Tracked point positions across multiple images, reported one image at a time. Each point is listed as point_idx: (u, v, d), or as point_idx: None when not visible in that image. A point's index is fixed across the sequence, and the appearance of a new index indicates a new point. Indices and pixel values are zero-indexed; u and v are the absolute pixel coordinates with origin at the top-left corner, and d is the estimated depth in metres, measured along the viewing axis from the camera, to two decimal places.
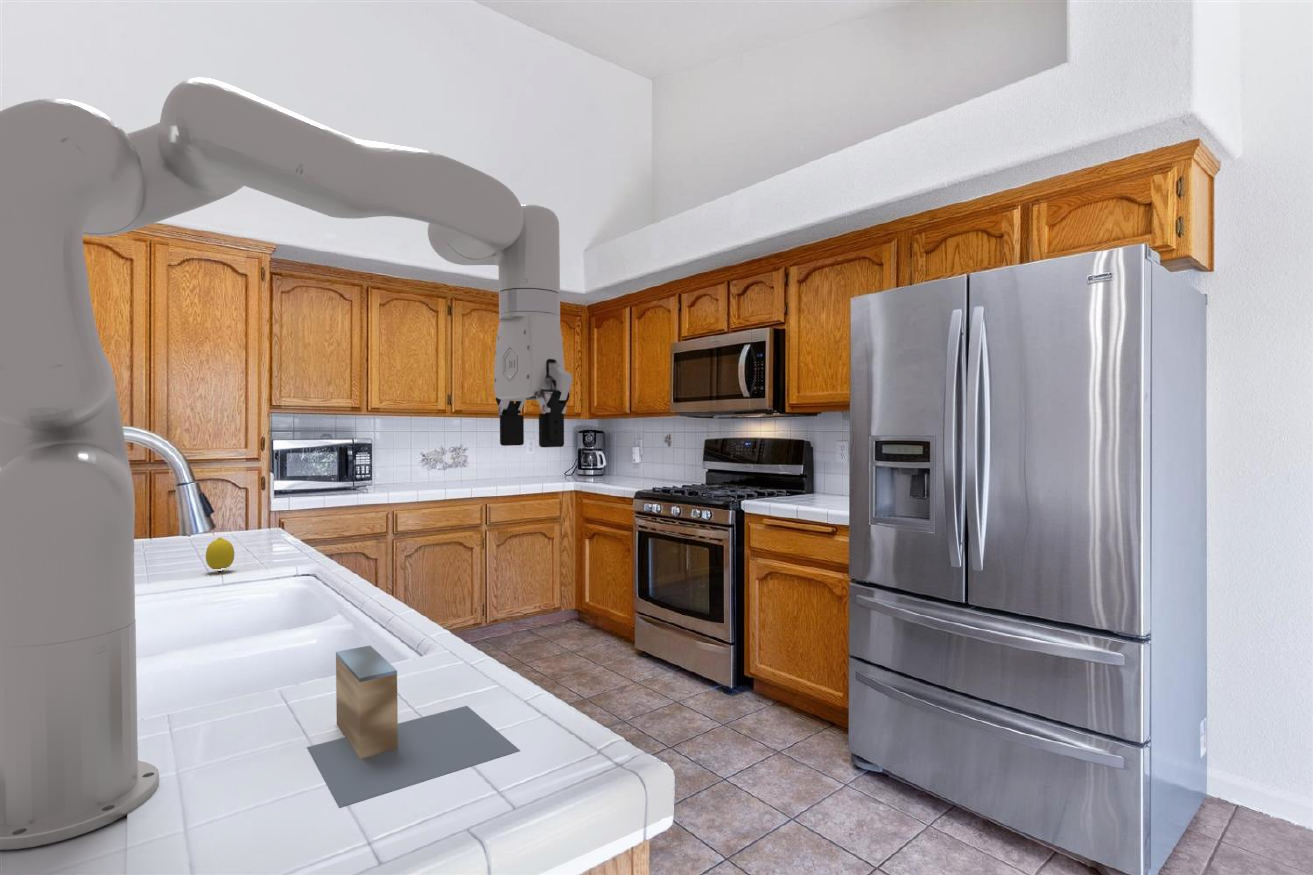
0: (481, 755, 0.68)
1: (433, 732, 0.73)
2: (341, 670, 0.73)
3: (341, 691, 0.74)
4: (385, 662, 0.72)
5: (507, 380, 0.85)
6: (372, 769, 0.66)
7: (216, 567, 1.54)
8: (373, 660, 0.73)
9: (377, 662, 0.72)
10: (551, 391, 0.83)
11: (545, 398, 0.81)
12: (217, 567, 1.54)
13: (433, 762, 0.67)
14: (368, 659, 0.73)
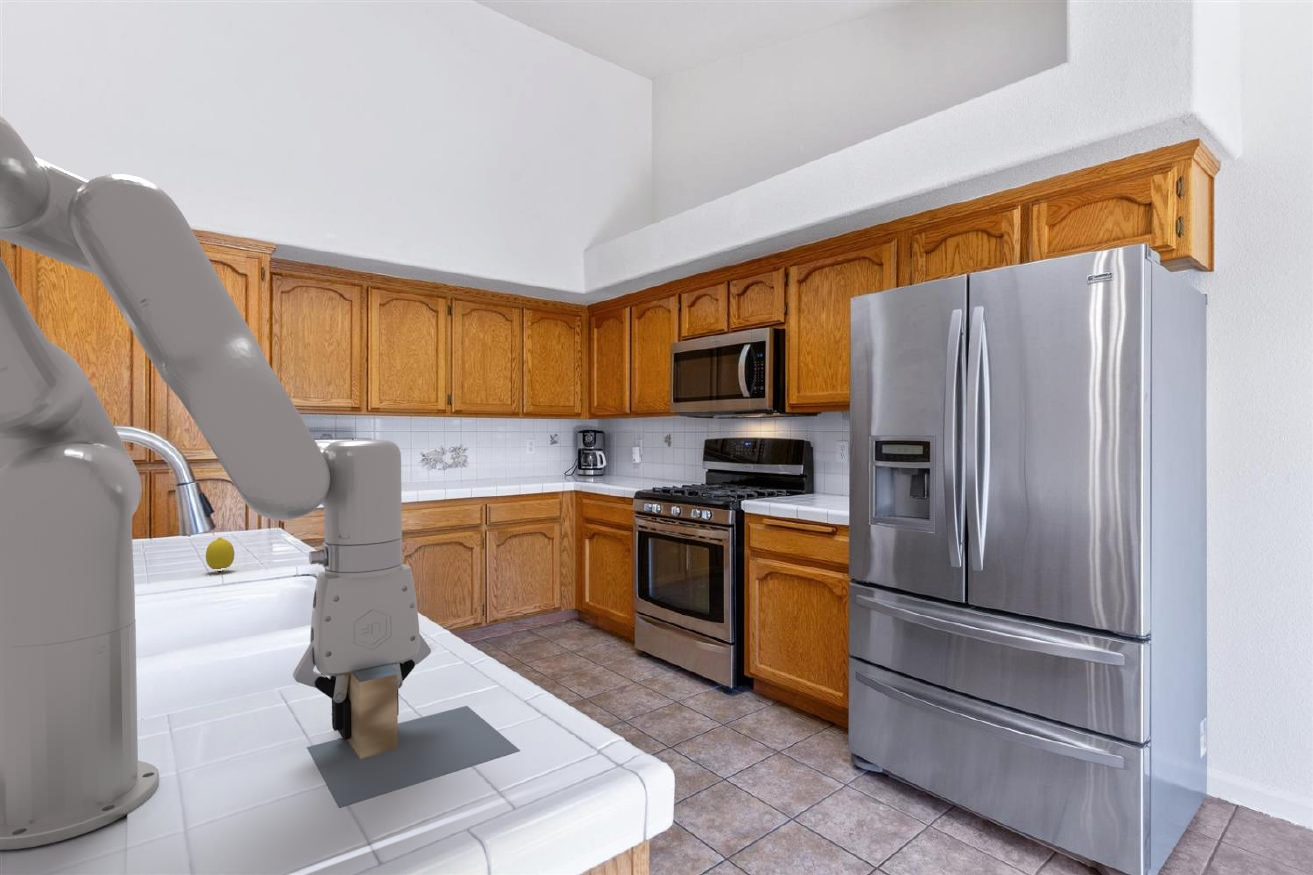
0: (481, 755, 0.68)
1: (433, 732, 0.73)
2: None
3: None
4: None
5: (366, 649, 0.70)
6: (372, 769, 0.66)
7: (216, 567, 1.54)
8: None
9: None
10: None
11: None
12: (217, 567, 1.54)
13: (433, 762, 0.67)
14: None
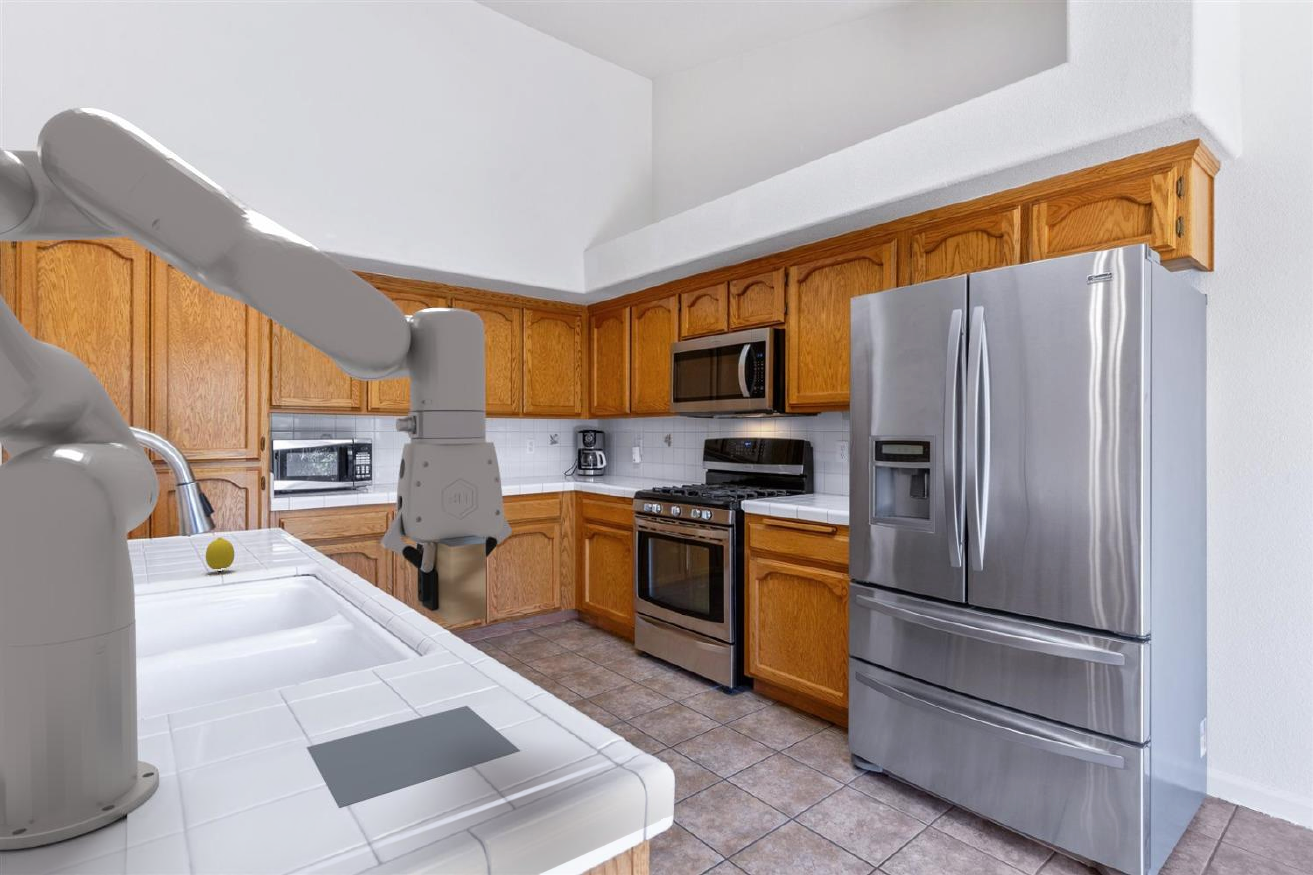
0: (481, 755, 0.68)
1: (433, 732, 0.73)
2: None
3: None
4: None
5: (454, 518, 0.69)
6: (372, 769, 0.66)
7: (216, 567, 1.54)
8: None
9: None
10: None
11: None
12: (217, 567, 1.54)
13: (433, 762, 0.67)
14: None
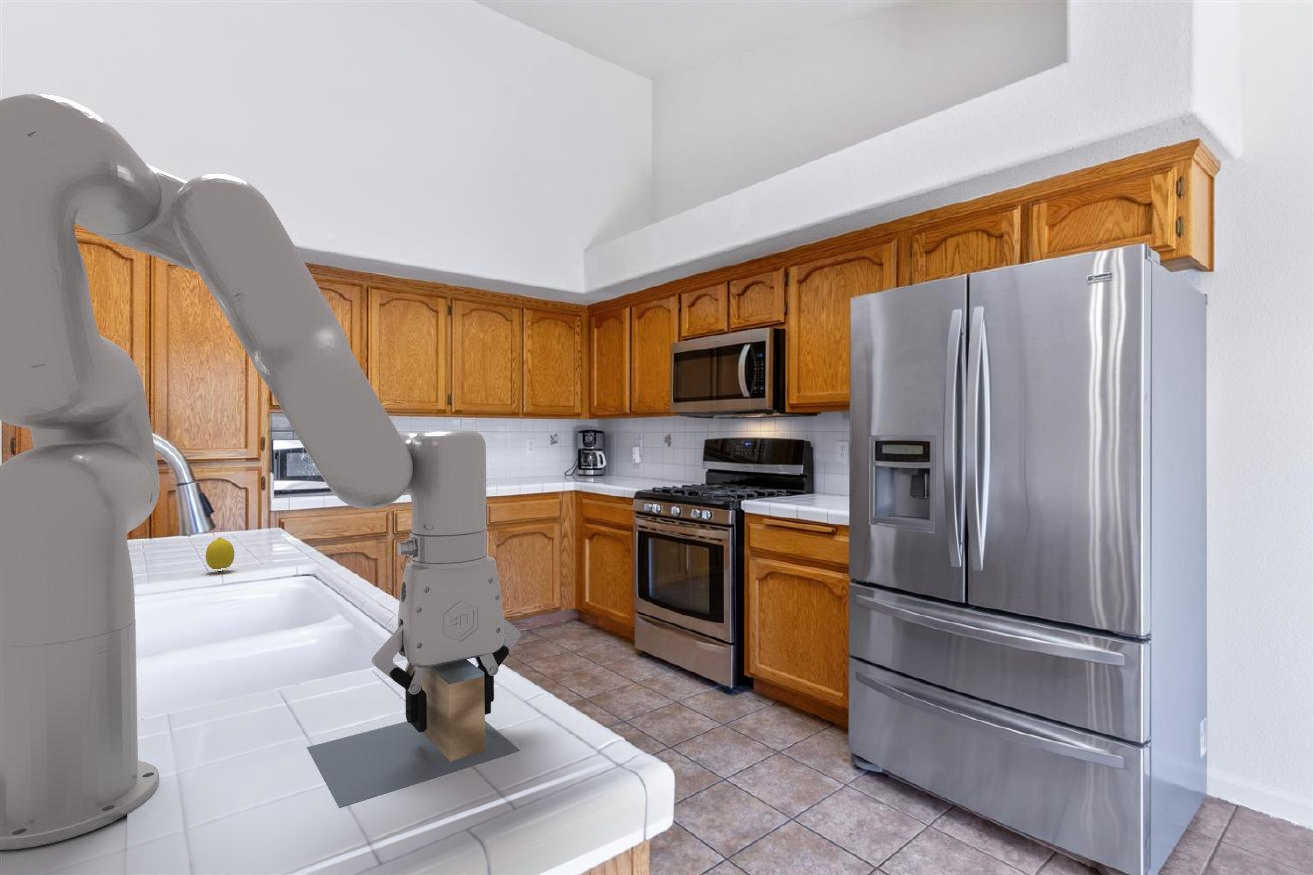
0: (481, 755, 0.68)
1: None
2: None
3: None
4: (469, 663, 0.71)
5: (455, 641, 0.69)
6: (372, 769, 0.66)
7: (216, 567, 1.54)
8: (457, 662, 0.72)
9: (461, 664, 0.71)
10: None
11: (493, 657, 0.74)
12: (217, 567, 1.54)
13: (433, 762, 0.67)
14: None
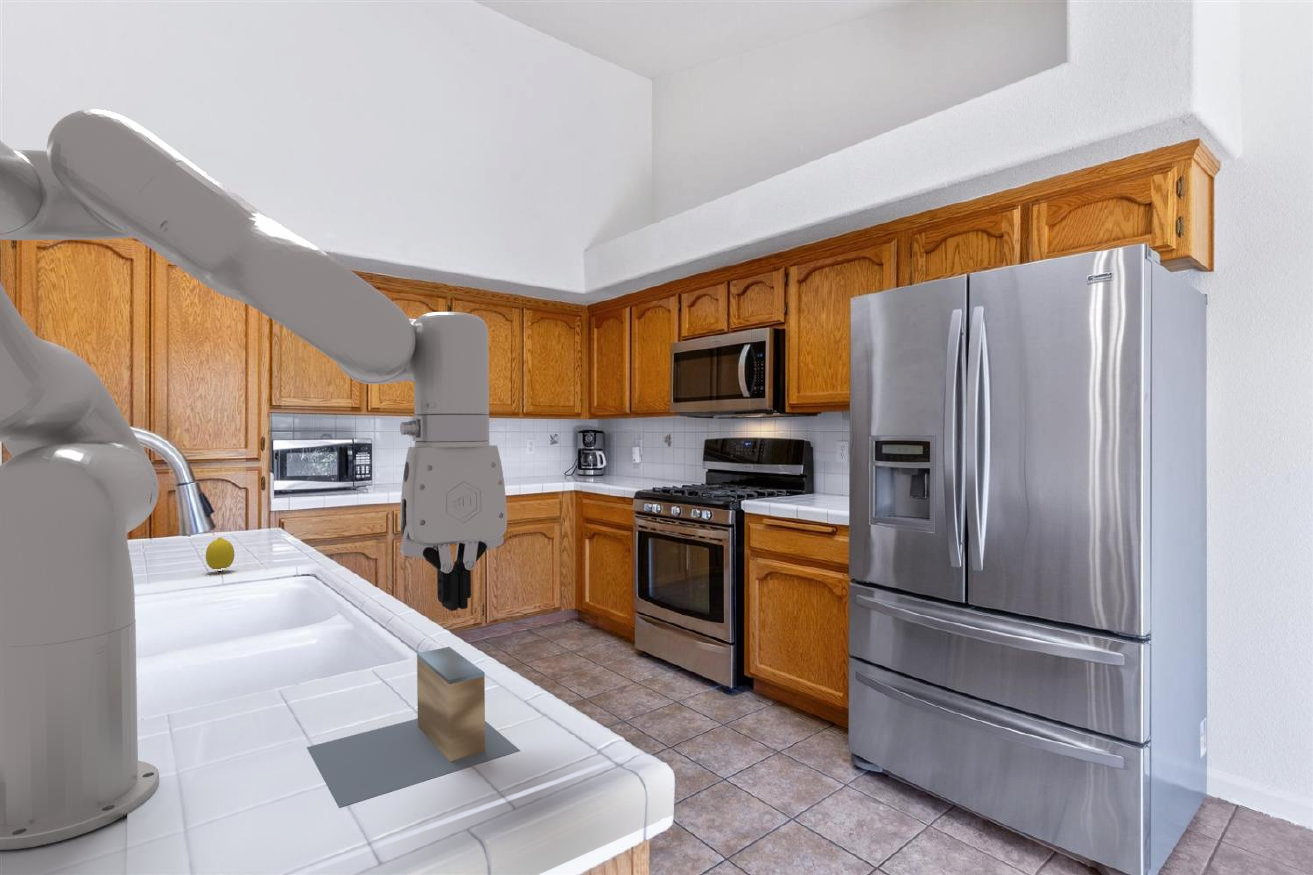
0: (481, 755, 0.68)
1: None
2: (424, 672, 0.73)
3: (424, 693, 0.73)
4: (470, 663, 0.71)
5: (458, 521, 0.69)
6: (372, 769, 0.66)
7: (216, 567, 1.54)
8: (457, 662, 0.72)
9: (462, 664, 0.71)
10: None
11: None
12: (217, 567, 1.54)
13: (433, 762, 0.67)
14: (452, 660, 0.72)
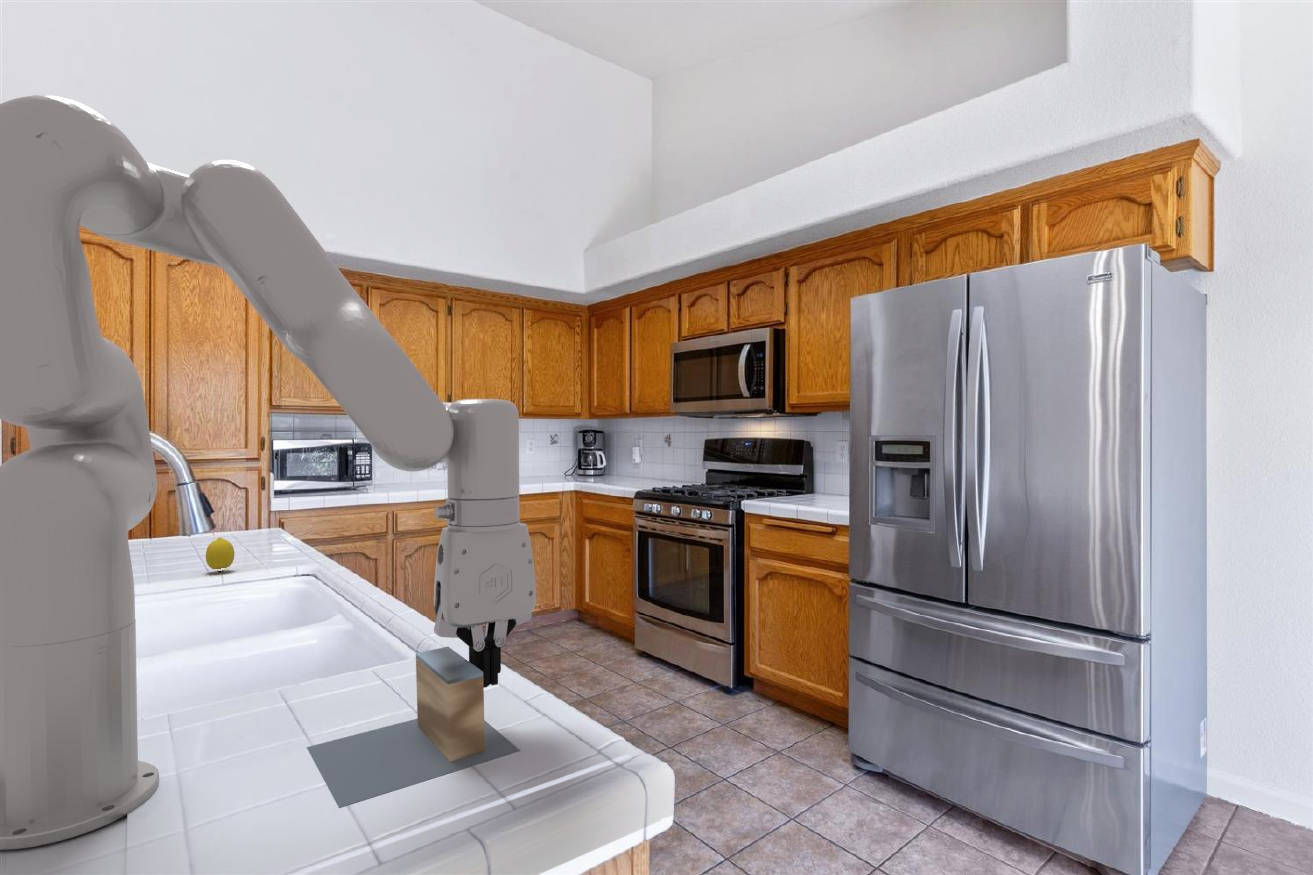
0: (481, 755, 0.68)
1: None
2: (423, 672, 0.73)
3: (423, 693, 0.73)
4: (468, 663, 0.71)
5: (490, 602, 0.72)
6: (372, 769, 0.66)
7: (216, 567, 1.54)
8: (456, 662, 0.72)
9: (460, 664, 0.71)
10: None
11: None
12: (217, 567, 1.54)
13: (433, 762, 0.67)
14: (451, 660, 0.72)
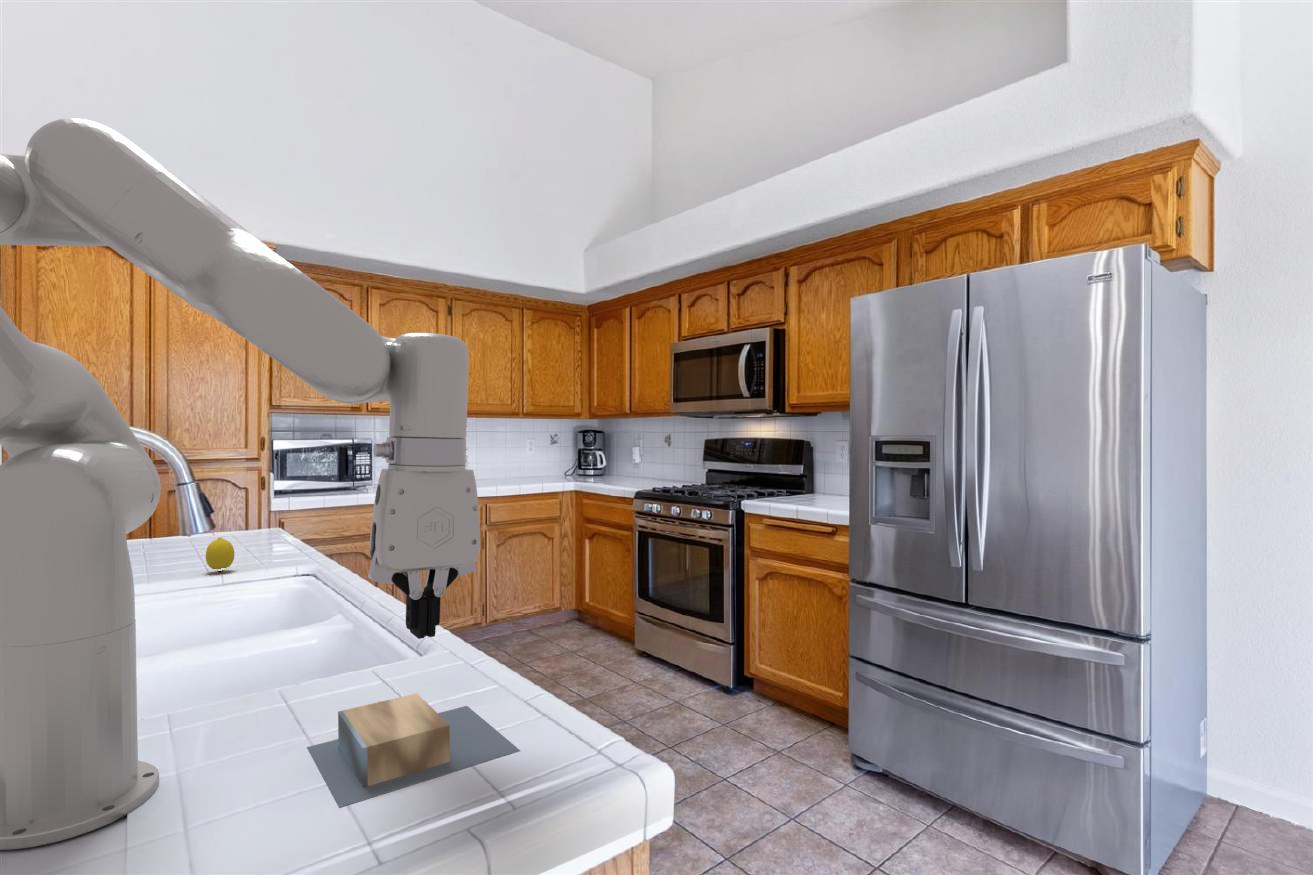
0: (481, 755, 0.68)
1: None
2: None
3: None
4: (354, 738, 0.65)
5: (428, 547, 0.68)
6: None
7: (216, 567, 1.54)
8: (351, 741, 0.66)
9: (353, 743, 0.65)
10: None
11: None
12: (217, 567, 1.54)
13: None
14: (349, 742, 0.66)
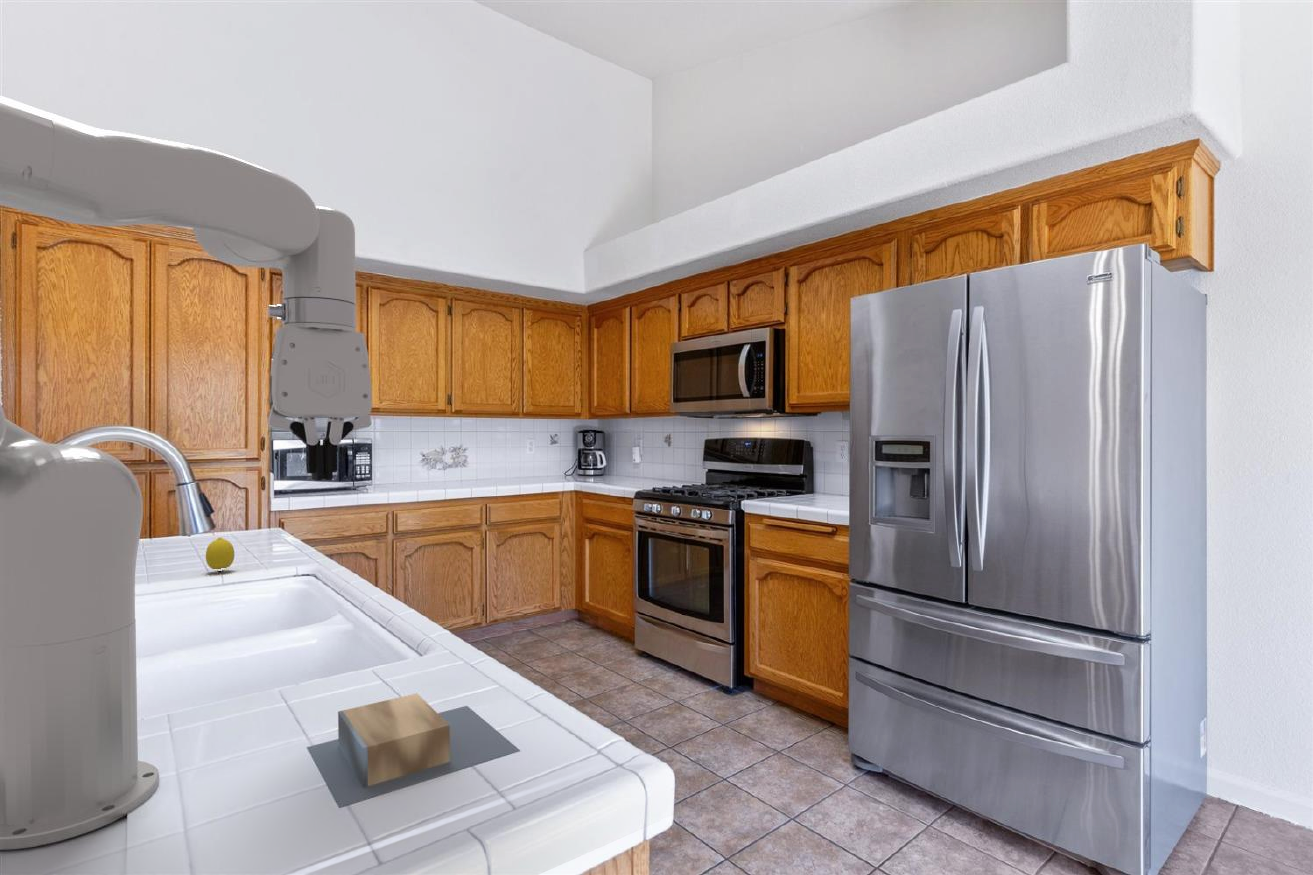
0: (481, 755, 0.68)
1: None
2: None
3: None
4: (354, 738, 0.65)
5: (321, 397, 0.76)
6: None
7: (216, 567, 1.54)
8: (351, 741, 0.66)
9: (353, 743, 0.65)
10: None
11: (341, 431, 0.79)
12: (217, 567, 1.54)
13: None
14: (349, 742, 0.66)
